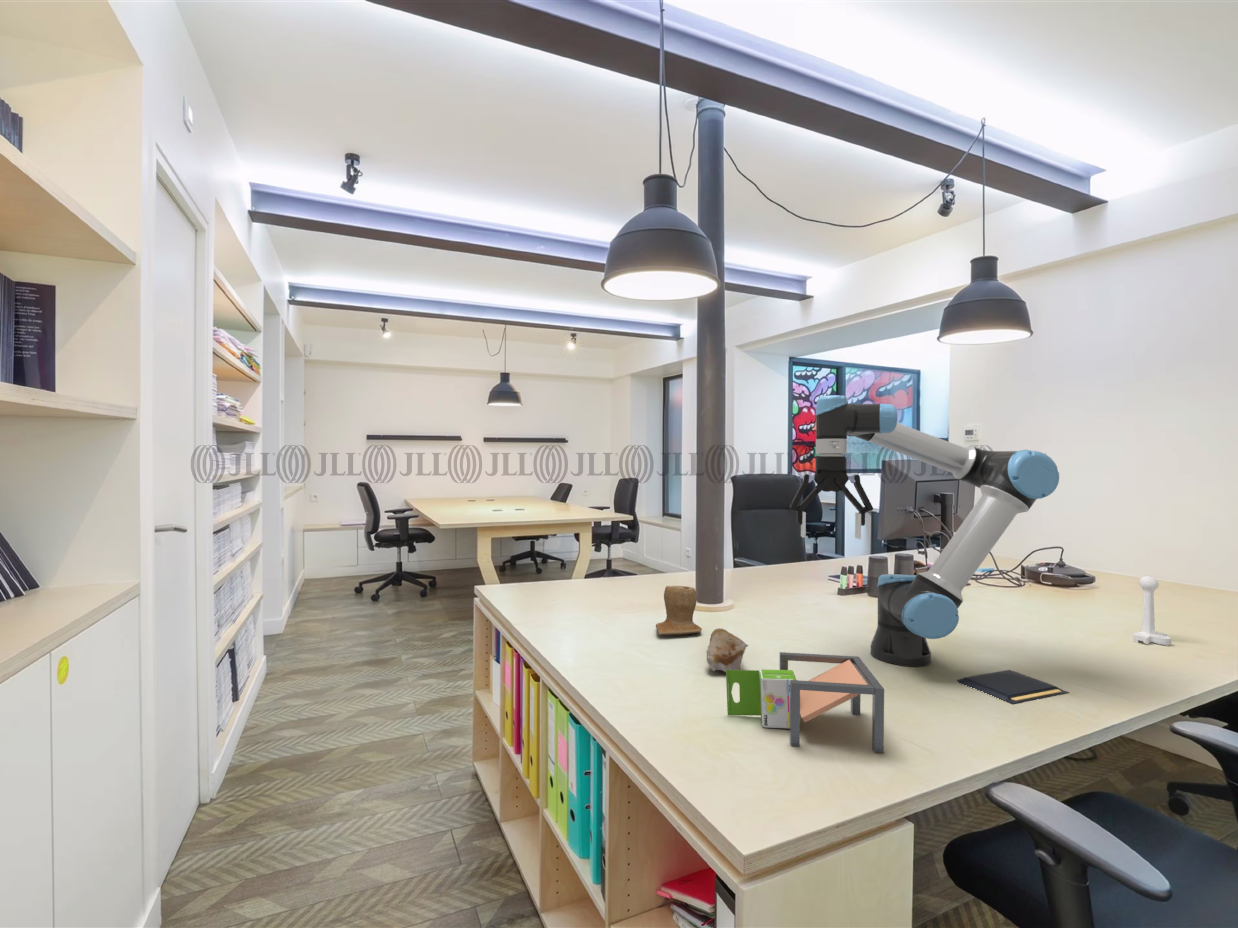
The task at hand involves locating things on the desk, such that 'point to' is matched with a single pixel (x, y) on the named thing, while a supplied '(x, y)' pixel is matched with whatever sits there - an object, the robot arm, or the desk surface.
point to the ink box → (761, 695)
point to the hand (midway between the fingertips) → (830, 537)
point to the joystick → (1150, 615)
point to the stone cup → (679, 611)
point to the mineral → (725, 651)
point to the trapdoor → (824, 701)
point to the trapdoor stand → (871, 689)
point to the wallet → (1012, 686)
